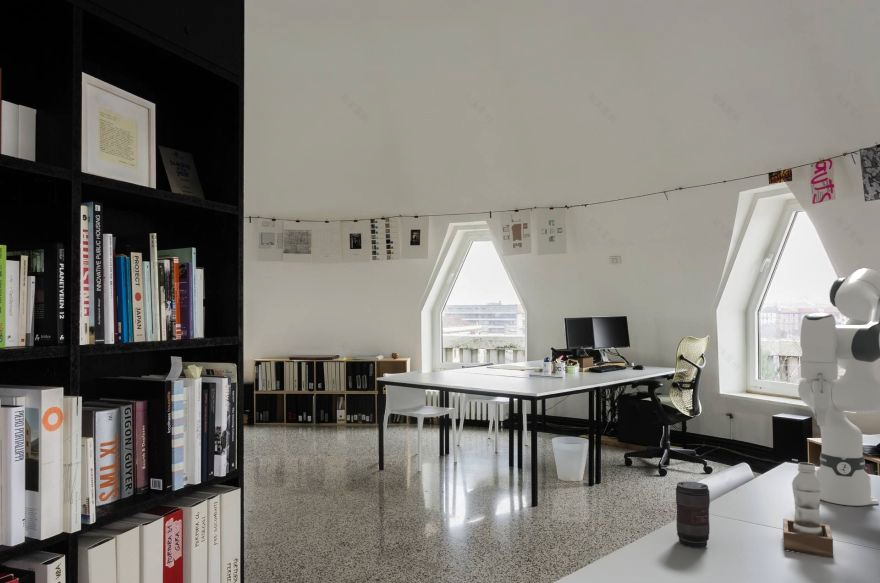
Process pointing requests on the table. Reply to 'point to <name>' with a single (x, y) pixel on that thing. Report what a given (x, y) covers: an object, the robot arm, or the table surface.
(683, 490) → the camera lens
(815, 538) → the open wooden box
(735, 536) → the table surface
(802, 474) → the plastic bottle
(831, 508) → the table surface
